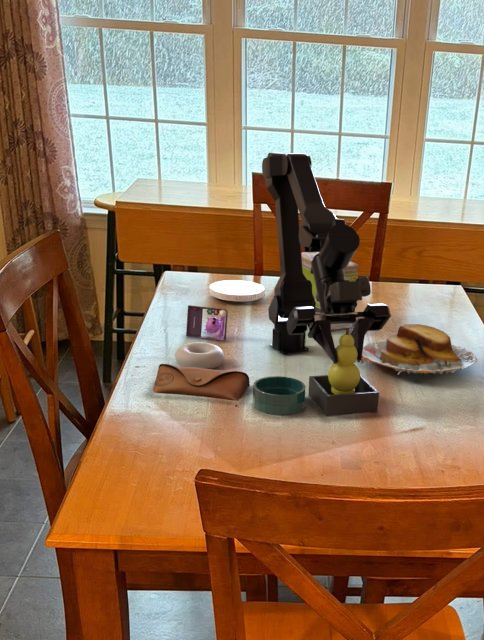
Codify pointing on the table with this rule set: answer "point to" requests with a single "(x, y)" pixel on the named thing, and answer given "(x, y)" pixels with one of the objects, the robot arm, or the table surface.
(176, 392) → the sunglasses case
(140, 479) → the table surface
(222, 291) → the plastic lid
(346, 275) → the tea box
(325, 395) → the bin
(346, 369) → the pear
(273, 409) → the bowl
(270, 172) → the robot arm
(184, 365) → the donut
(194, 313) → the purple toy box
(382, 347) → the food on plate
